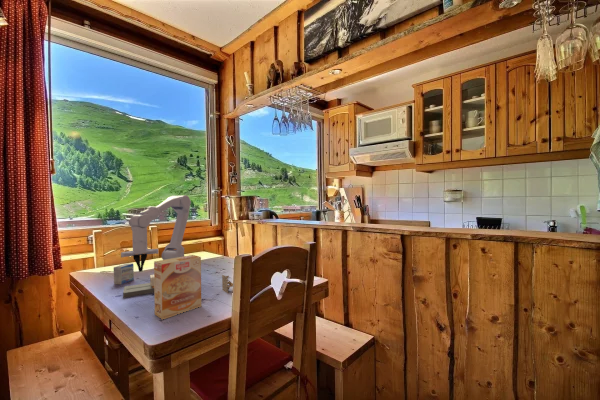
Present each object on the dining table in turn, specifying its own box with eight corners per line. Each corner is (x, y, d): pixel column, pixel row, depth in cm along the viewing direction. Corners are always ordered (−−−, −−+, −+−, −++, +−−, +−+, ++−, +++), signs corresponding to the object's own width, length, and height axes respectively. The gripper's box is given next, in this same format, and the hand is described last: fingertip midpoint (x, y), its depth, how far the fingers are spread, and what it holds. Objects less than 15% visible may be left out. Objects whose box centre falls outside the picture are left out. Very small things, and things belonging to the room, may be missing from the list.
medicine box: (121, 284, 132) (120, 267, 132) (113, 284, 133) (113, 266, 133) (134, 280, 140) (133, 263, 140) (126, 279, 141) (126, 263, 141)
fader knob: (159, 282, 129) (159, 273, 128) (160, 284, 124) (160, 275, 124) (150, 283, 126) (150, 274, 126) (150, 286, 122) (150, 277, 122)
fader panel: (161, 285, 131) (161, 280, 131) (162, 291, 122) (162, 286, 122) (124, 290, 123) (124, 286, 123) (123, 297, 115) (123, 292, 115)
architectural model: (229, 289, 125) (229, 273, 125) (235, 293, 120) (235, 276, 120) (222, 291, 123) (221, 274, 123) (228, 295, 118) (228, 278, 118)
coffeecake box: (162, 320, 93) (161, 264, 93) (153, 314, 98) (153, 261, 98) (202, 306, 104) (201, 256, 104) (193, 302, 109) (192, 254, 109)
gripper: (120, 244, 115) (120, 275, 115) (158, 240, 122) (159, 270, 123) (121, 241, 121) (122, 271, 121) (157, 238, 128) (158, 267, 129)
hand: (140, 271), depth 122 cm, fingers closed
